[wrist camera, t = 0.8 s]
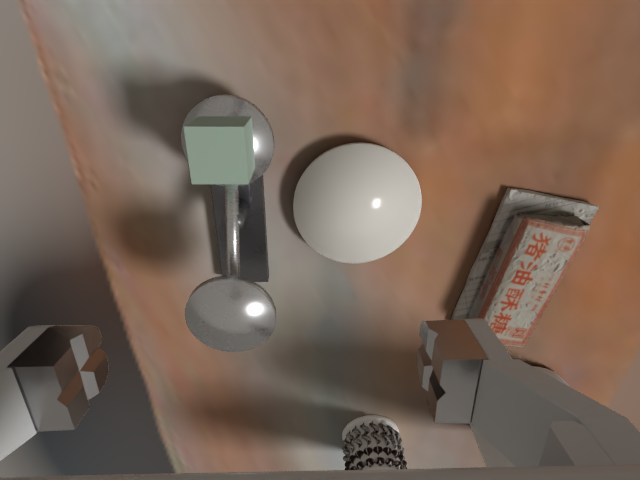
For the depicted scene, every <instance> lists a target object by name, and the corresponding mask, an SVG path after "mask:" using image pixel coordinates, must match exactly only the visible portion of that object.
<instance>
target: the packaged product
mask: <svg viewBox="0 0 640 480" xmlns="http://www.w3.org/2000/svg"><path fill="white" fill-rule="evenodd" d="M598 209H599V206H596V205H593V204H590V203H587V202H584V201H580V200H574V199H568V198H562V197H558V196H553V195H549V194H544V193H540V192H535V191H531V190H524V189H515V188H507V190H506V192H505V194H504V197H503V199H502V201H501V203H500V206H499V208H498V211H497V213H496V216H495V218H494V221H493V223H492V225H491V228H490V230H489V232H488V235H487V237H486V239H485V241H484V243H483V245H482V247H481V250H480V252H479V254H478V256H477V259H476V261H475V262H474V264H473V266H472V268H471V271H470V274H469V275H468V278H467V282H466V285H465V287H464V289H463V291H462V294H461V296H460V298H459V300H458V303H457V305H456V308H455V310H454V312H453V315H452V318H451V320H462V319H477V318H482V319H484V320H485V321H486V322H487V323H488V325H489V326H490V328H491V329H492V330H493V332H494V333H495V335H496V336H497V337H498V339H499V340H500V342H501V343H502V344H503V345H508V346H517V347H524V345H525V343H526V341H527V340H528V338H529V336H530V335H531V333H532V331H533V330H534V329H535V326H536V324H537V322H538V320H539V319H540V317H541V316H542V314H543V311H544V310H545V308H546V307H547V305H548V303H549V301H550V300H551V298H552V296H553V294H554V292H555V291H556V289H557V288H558V285H559V283H560V282H561V280H562V278H563V276H564V275H565V272H566V271H567V269H568V267H569V266H570V264H571V262H572V260H573V259H574V257H575V255H576V253H577V250H578V249H579V248H580V246H581V245H582V243H583V241H584V239H585V238H586V236H587V233H588V232H589V226H590V223H591V220H592V218H593V217H594V215H595V213H596V212H597V210H598Z"/></svg>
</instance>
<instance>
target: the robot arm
mask: <svg viewBox="0 0 640 480" xmlns="http://www.w3.org/2000/svg"><path fill="white" fill-rule="evenodd" d="M420 337H421V340H422V342H423V344H422V346H421V347H420V348H419V349H418V356H417V366H418V374H419V379H420V382H421V385H422V388H424V389H425V390H426V391H428V395H427V403H428V406H429V409H430V411H431V414H432V417H433V420H434V423H471V426H473V427H474V428H475V429H476V430H477V431H478V432H479V433H480V434H481V435H482V436H483V437H484V438H485V439H486V440H488V441H489V442H490V443H491V444H492V445H493V446H494V447H495V448H496V449H497V450H498V451H499V452H500V453H501V454H503V455H504V456H505V457H506V458H507V459H508V460H509V461H510V462H511V463H512V464H513V465H514V466H515V467H483V468H441V469H390V470H334V471H278V472H229V473H181V474H137V475H136V474H134V475H90V476H89V475H86V476H85V475H84V476H35V477H34V476H32V477H0V480H640V432H639V431H638V429H637V428H636V427H635V426H634V425H633V424H632V423H631V422H630V421H629V420H628V419H627V418H626V417H624V416H622V415H620V414H618V413H616V412H615V411H613V410H611V409H609V408H607V407H606V406H604V405H602V404H600V403H598V402H597V401H595V400H593V399H591V398H589V397H587V396H586V395H584V394H582V393H580V392H578V391H576V390H575V389H573V388H571V387H569V386H567V385H565V384H564V383H562V382H560V381H558V380H556V379H554V378H553V377H551V376H549V375H547V374H545V373H543V372H542V371H540V370H538V369H536V368H534V367H533V366H531V365H529V364H527V363H525V362H523V361H522V360H520V359H512V357H511V356H510V354H509V353H508V352H507V350H506V349H505V347H504V346H503V345H502V343H501V342H500V340H499V339H498V337H497V336H496V335H495V333H494V332H493V330H492V329H491V328H490V326H489V325H488V323H487V322H486V321H485V320H484V319H482V318H477V319H462V320H435V321H422V323H421V327H420ZM101 341H102V337H101V334H100V331H99V329H98V328H97V327H95V326H80V325H79V326H78V325H75V326H74V325H72V326H71V325H68V326H67V325H66V326H65V325H55V326H52V325H46V326H45V325H43V326H32V327H28V328H27V329H26V330H25V331H23V332H22V333H21V334H20V335H19V336H18V337H17V338H15V339H14V340H13V341H12V342H11V343H10V344H8V345H7V346H6V347H5V348H4V349H3V350H2V351H0V460H2V459H3V458H5V457H6V456H7V455H9V454H10V453H11V452H13V451H14V450H15V449H16V448H18V447H19V446H21V445H22V444H23V443H25V442H26V441H27V440H28V439H30V438H31V437H33V436H34V435H35V434H36V433H37V432H36V431H56V430H74V429H75V428H76V427H77V425H78V424H79V422H80V421H81V419H82V418H83V416H84V415H85V413H86V412H87V411H88V409H89V407H90V406H89V402H88V400H89V399H91V398H92V397H94V396H95V395H97V394H98V393H99V392H100V391H101V390H102V388H103V386H104V385H105V382H106V379H107V375H108V359H107V355H106V354H105V353H104V352H103V351H102V350H101V349H99V345H100V343H101Z"/></svg>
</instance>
